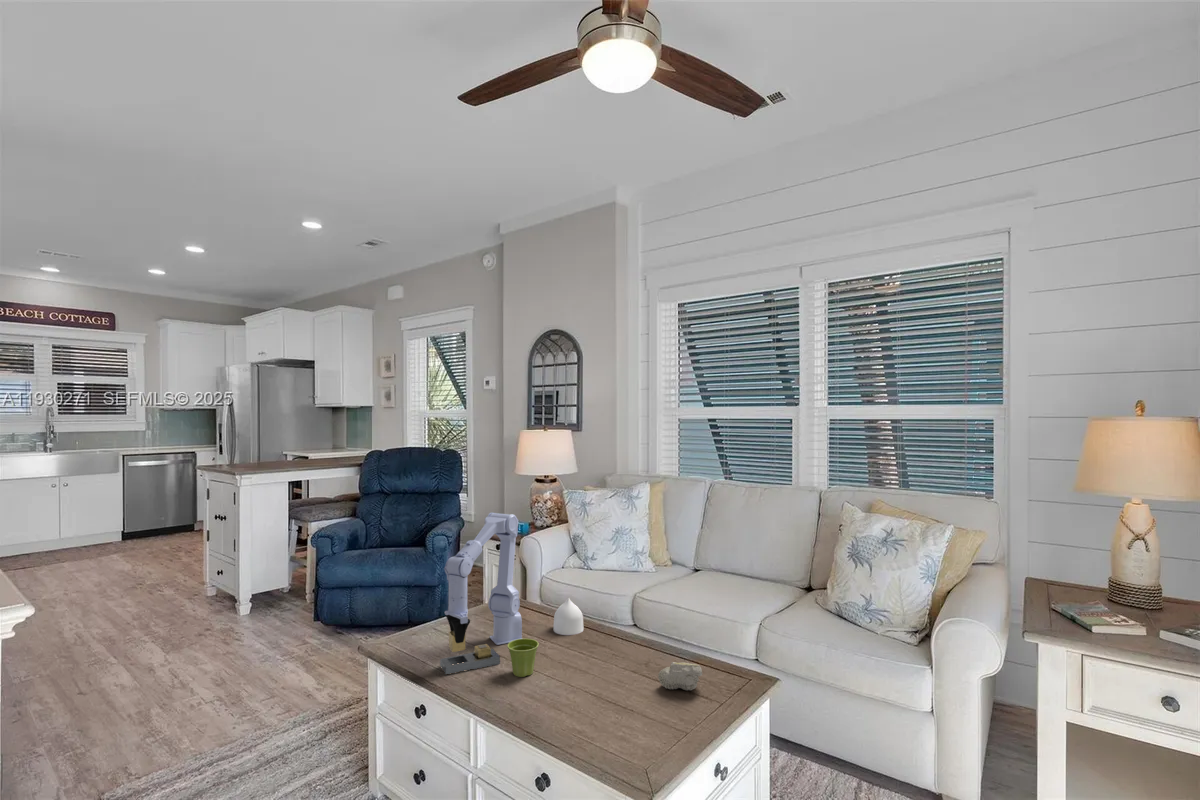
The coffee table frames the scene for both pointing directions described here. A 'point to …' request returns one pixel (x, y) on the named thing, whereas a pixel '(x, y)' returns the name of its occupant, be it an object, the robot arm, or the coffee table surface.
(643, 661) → the coffee table surface
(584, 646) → the coffee table surface
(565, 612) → the teardrop
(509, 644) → the plant pot
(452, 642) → the gold square block
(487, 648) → the tan square frame
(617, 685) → the coffee table surface
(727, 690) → the coffee table surface
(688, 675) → the fossil replica
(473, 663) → the grey slotted tray
